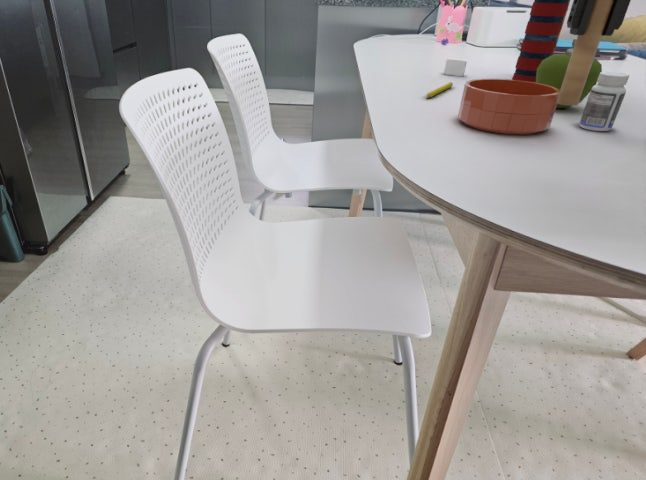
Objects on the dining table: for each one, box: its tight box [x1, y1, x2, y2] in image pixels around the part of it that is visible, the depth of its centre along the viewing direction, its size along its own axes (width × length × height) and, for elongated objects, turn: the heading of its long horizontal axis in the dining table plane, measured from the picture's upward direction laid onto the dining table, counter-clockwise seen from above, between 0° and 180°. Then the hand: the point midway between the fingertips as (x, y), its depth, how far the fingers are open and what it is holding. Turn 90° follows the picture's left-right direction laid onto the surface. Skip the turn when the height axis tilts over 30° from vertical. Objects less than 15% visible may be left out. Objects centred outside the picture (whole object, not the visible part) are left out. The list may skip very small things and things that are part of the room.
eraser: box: [443, 58, 468, 77], centre depth 119 cm, size 1×5×4 cm, turn 62°
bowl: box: [457, 78, 560, 135], centre depth 77 cm, size 14×14×6 cm
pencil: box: [426, 82, 454, 99], centre depth 100 cm, size 16×1×1 cm, turn 146°
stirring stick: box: [556, 0, 614, 107], centre depth 50 cm, size 2×2×12 cm
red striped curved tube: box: [511, 0, 571, 82], centre depth 104 cm, size 25×7×25 cm, turn 150°
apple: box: [536, 53, 603, 109], centre depth 87 cm, size 11×10×10 cm
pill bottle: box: [578, 71, 630, 132], centre depth 75 cm, size 5×5×8 cm
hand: (590, 34), depth 49 cm, fingers closed on stirring stick, 2 cm apart
